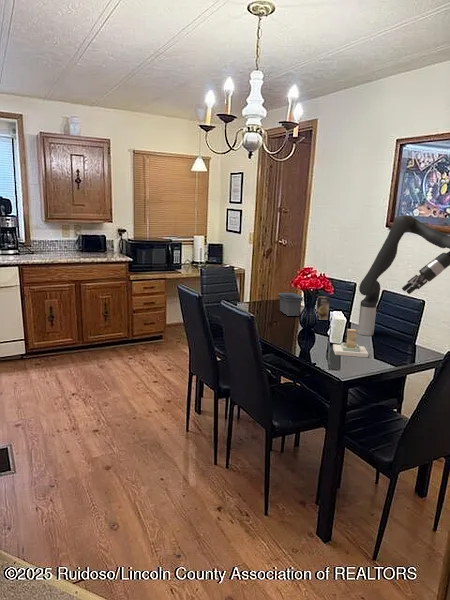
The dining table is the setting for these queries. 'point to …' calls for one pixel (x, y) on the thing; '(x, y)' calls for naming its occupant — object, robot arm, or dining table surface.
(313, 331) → the dining table surface
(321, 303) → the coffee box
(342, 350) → the socket base
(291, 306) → the storage bin
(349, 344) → the birch pillar block
